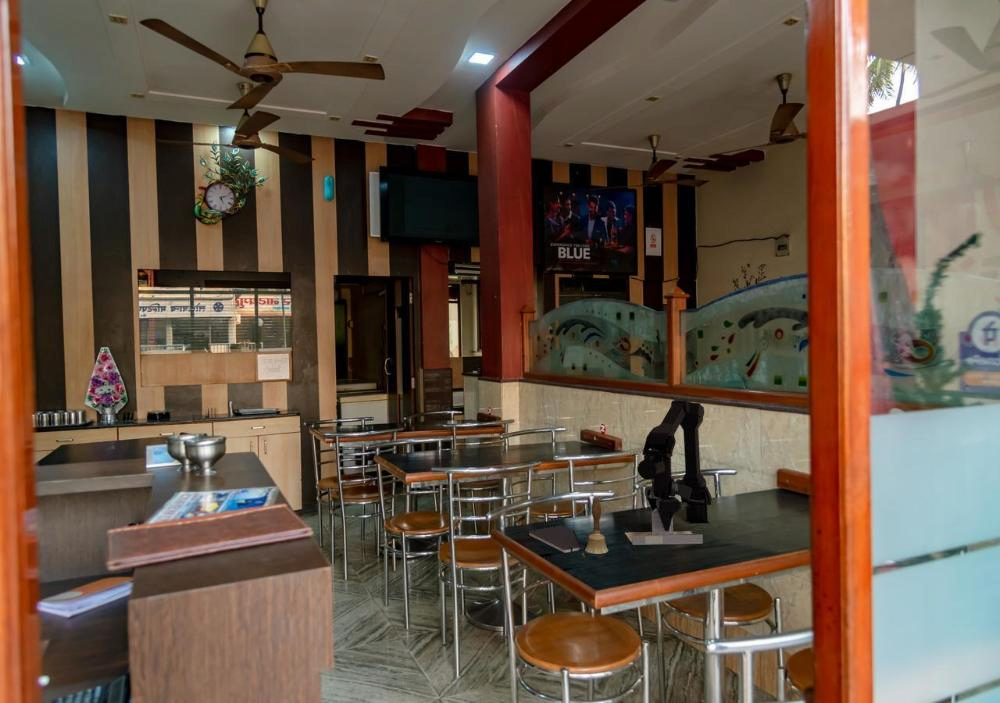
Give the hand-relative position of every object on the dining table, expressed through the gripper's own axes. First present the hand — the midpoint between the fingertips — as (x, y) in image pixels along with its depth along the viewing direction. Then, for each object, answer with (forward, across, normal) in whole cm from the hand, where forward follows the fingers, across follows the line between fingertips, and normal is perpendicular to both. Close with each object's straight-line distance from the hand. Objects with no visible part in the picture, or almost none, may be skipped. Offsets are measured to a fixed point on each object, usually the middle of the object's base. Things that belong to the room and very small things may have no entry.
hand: (662, 526), depth 184 cm
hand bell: (+5, -10, +21) cm, 24 cm away
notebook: (+6, +5, +29) cm, 30 cm away
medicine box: (+4, 0, 0) cm, 4 cm away
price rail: (+3, -5, 0) cm, 6 cm away
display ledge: (+5, 0, 0) cm, 5 cm away
